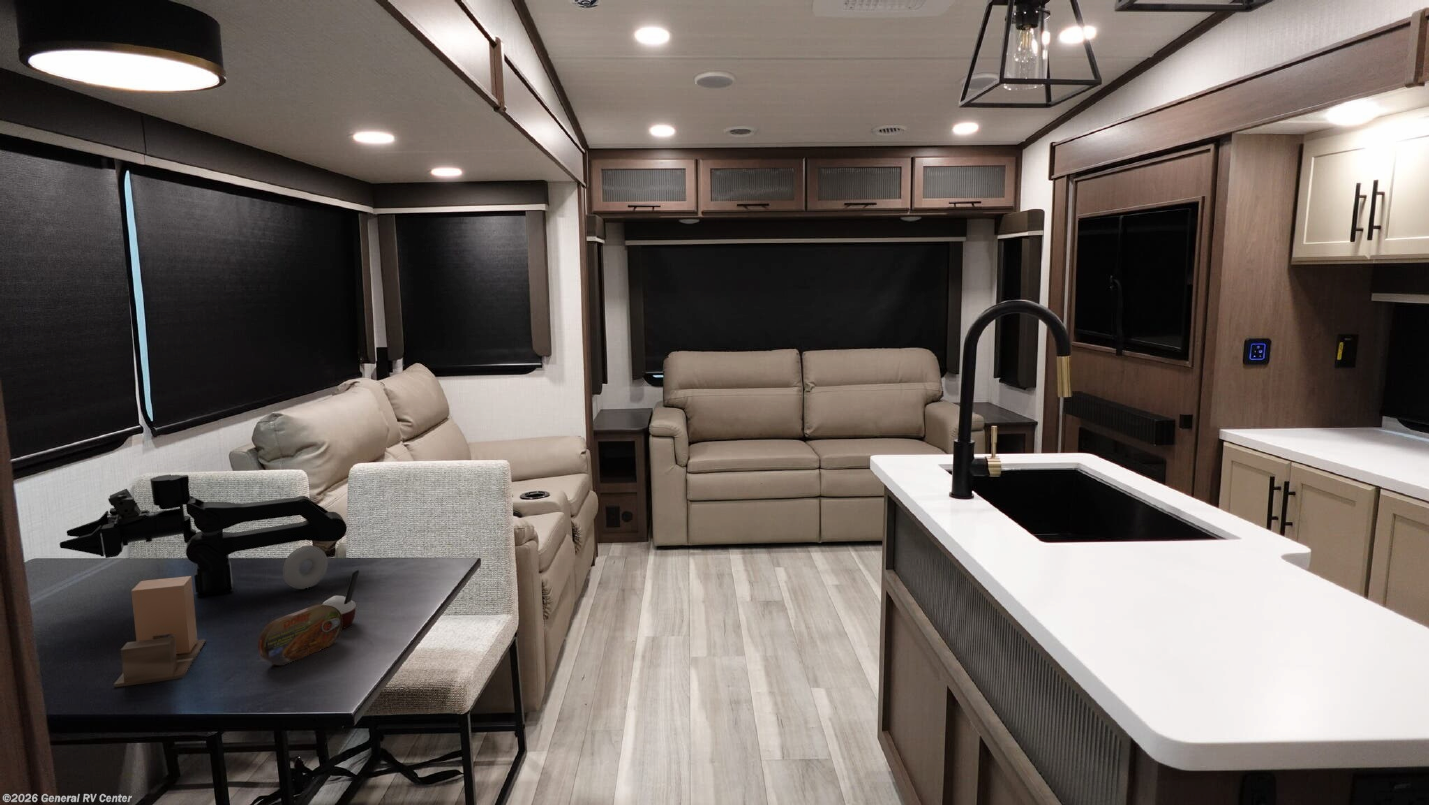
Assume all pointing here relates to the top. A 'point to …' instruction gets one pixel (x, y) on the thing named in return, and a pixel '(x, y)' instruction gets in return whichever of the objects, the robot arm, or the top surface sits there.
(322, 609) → the tin
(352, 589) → the cocoa
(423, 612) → the top surface
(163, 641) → the pipe stand
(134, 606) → the rectangular block
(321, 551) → the donut
